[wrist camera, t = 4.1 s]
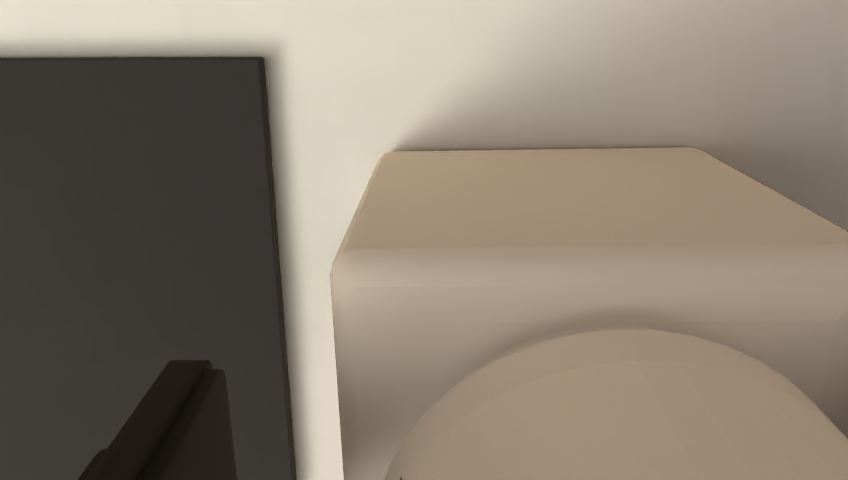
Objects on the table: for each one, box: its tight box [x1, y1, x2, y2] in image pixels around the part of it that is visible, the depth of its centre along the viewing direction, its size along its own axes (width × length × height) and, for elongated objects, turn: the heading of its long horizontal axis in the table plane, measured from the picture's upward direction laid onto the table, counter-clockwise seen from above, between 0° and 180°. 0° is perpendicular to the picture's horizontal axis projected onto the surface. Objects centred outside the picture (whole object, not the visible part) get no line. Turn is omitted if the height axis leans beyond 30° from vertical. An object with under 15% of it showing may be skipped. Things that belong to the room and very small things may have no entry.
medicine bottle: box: [330, 147, 848, 480], centre depth 11 cm, size 7×7×12 cm
